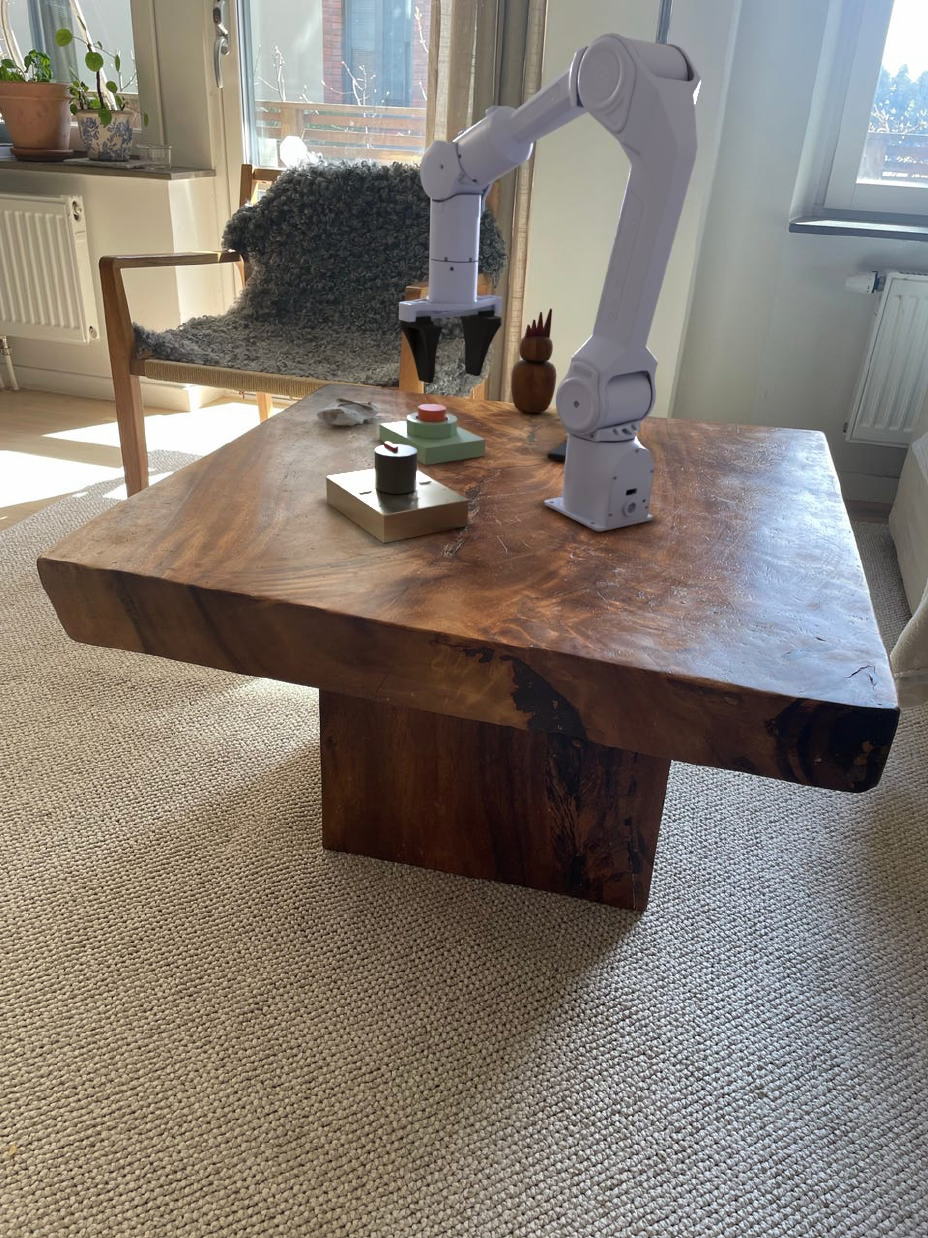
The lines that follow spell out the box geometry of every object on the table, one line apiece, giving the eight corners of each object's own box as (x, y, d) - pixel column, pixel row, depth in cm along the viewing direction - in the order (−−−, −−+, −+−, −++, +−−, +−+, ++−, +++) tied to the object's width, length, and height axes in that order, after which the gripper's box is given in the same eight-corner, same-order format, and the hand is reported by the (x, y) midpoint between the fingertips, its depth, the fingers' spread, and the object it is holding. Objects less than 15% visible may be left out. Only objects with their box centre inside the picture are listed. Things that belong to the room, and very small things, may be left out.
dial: (424, 490, 93) (425, 450, 91) (387, 496, 91) (387, 455, 89) (403, 477, 96) (403, 439, 94) (367, 483, 94) (367, 444, 92)
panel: (467, 526, 93) (469, 497, 91) (383, 543, 88) (383, 513, 86) (405, 488, 102) (406, 462, 101) (326, 502, 97) (325, 474, 96)
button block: (484, 455, 115) (486, 425, 113) (425, 465, 110) (426, 433, 108) (436, 432, 123) (437, 403, 122) (379, 439, 119) (379, 410, 117)
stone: (341, 410, 132) (340, 392, 130) (386, 416, 129) (386, 398, 128) (310, 426, 123) (309, 407, 122) (358, 432, 121) (357, 413, 120)
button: (451, 422, 115) (451, 409, 114) (427, 425, 113) (427, 411, 112) (436, 415, 117) (436, 402, 117) (412, 418, 116) (413, 405, 115)
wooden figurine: (553, 407, 138) (562, 307, 132) (552, 417, 133) (562, 312, 126) (510, 404, 139) (516, 304, 132) (507, 414, 134) (515, 309, 127)
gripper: (477, 254, 110) (472, 365, 116) (383, 258, 102) (383, 378, 108) (516, 260, 106) (509, 375, 112) (421, 264, 97) (419, 389, 103)
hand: (449, 377), depth 110 cm, fingers open, 7 cm apart
